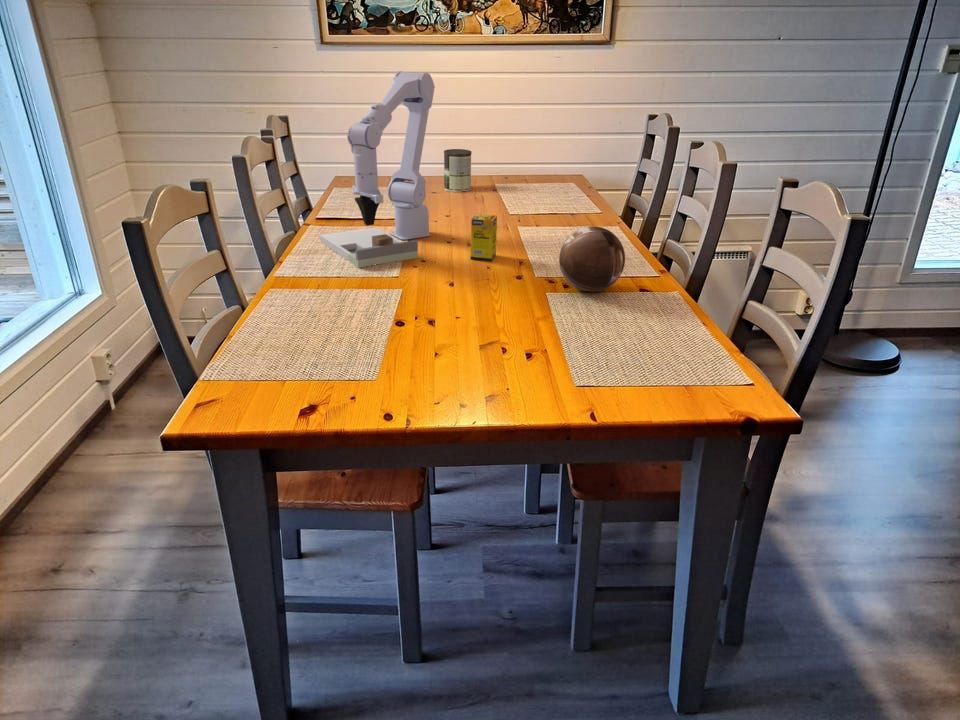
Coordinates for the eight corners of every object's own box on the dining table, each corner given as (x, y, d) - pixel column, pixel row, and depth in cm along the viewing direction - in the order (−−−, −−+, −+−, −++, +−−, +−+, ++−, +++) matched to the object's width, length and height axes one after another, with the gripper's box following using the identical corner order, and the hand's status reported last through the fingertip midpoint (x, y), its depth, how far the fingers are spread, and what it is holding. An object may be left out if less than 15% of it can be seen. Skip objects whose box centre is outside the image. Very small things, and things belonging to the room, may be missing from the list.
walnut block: (386, 249, 173) (385, 234, 171) (393, 253, 170) (392, 238, 168) (372, 251, 171) (371, 236, 169) (379, 255, 168) (378, 240, 166)
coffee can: (438, 189, 249) (438, 151, 242) (455, 185, 256) (455, 148, 250) (459, 193, 244) (460, 154, 237) (476, 189, 251) (477, 151, 245)
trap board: (375, 234, 193) (374, 218, 191) (417, 257, 173) (417, 241, 171) (320, 242, 184) (318, 226, 182) (358, 268, 165) (357, 250, 163)
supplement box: (492, 261, 172) (493, 220, 167) (470, 259, 173) (470, 218, 168) (496, 255, 177) (497, 215, 173) (474, 253, 178) (475, 213, 174)
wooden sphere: (545, 283, 158) (550, 222, 152) (598, 276, 164) (605, 217, 157) (577, 305, 146) (584, 239, 139) (633, 296, 152) (642, 233, 145)
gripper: (340, 169, 172) (344, 220, 178) (363, 179, 161) (367, 233, 167) (365, 166, 175) (368, 216, 181) (389, 176, 164) (391, 229, 171)
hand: (369, 224), depth 174 cm, fingers closed
